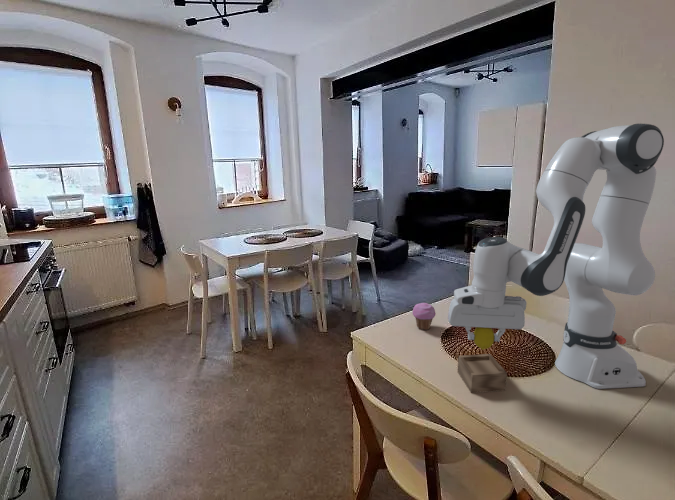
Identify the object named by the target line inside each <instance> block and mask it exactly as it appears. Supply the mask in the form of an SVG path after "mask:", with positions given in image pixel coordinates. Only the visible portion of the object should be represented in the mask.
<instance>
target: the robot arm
mask: <svg viewBox="0 0 675 500" xmlns="http://www.w3.org/2000/svg"><path fill="white" fill-rule="evenodd" d="M561 144H562V145H560V147H559V148H557V149H558V150H557V151H556V152H555V153H554V155H553V156H552V158H551V159H550V161H549V162H548V164H547V165H546V168H545V169H544V171H543V173H542V174H541V176H540V178H539V180H538V183H537V186H536V188H535V189H536V190H535V193H536V198H537V200H538V202H539V203H540V205H542V207H544V209H546V210H547V211H548V212H550V214H551V215H552V218H553V226H552V228H551V231H550V234H549V236H548V239H547V241H546V244H545V247H544V250H543V251H542V252H541V253H537V252H534V251H532V250H530V249H529V250H528V249H526V248H523V247H520V246H517V245H515V244H513V243H512V242H509V241H508V239H506V238H504V237H500V236H498V237H497V236H494V237H493V236H491V237H485V238H484V239H481V240H480V241H479V242H478V243H477V245H476V247H475V250H474V256H473V261H472V262H473V263H472V272H473V279H472V280H471V285H468V286H464V287H460V288H457V289H454V291H453V297H454V298H452V300H451V301H450V302H449V303H450V304H449V307H448V314H447V320H448V323H449V324H450V325H451V327H464V329H465V330H466V332H467V339H468V341H474V336H475V335H474V332H471V331H470V330H472V328H477V327H484V328H491V329H498V330H497V332H496V333H494V342H496V343H497V342H498V343H499V342H500V341H501V337H502V336H503V335H504V333H505V332H506V329H507V330H510V329H511V330H521V329H523V328H524V327H525V325H526V323H525V322H526V321H525V311H526V308H527V304H528V303H527V300H526V299H525V298H523V297H522V296H519V295H517V296H512V295H506V291H507V290H506V289H507V284H508V282H512V283H514V284H516V285H518V286H520V287H522V288H523V289H525V290H526V291H528V292H530V293H531V294H532V295H535V296H538V297H543V296H548V295H550V294H552V293H555V292H556V291H558V290H559V289H560V288H561V287H562V285H563V284H564V283H565V286H566V290H567V291H568V292H567V293H568V299H569V303H568V305H569V306H568V315H567V322H565V326H564V331H563V342H562V347H561V349H560V351H559V354H558V356H557V358H556V359H555V360H554V361H555V362H554V364H555V367H556V368H557V369H558V370H559V372H561V374H563V375H565V376H567V377H569V378H571V379H573V380H576V381H578V382H582V383H584V384H587V385H588V386H590V387H592V388H593V389H597V390H599V389H600V390H601V389H602V390H603V389H620V388H621V389H622V388H636V387H637V388H640V387H646V383H647V382H646V379H645V377H644V375H643V374H642V373H641V372H640V371H639V370H638V365H637V362H636V360H635V358H634V357H633V356H632V354H631V353H629V352H628V351H627V350H626V349H625V348H623V347H622V346H621V345H625V344H626V342H627V339H626V338H625V337H623V336H622V335H619V334H618V333H617V332H616V331H614V330H613V328H614V324H615V320H616V319H615V317H616V307H615V305H614V303H613V302H612V300H610V299H609V297H608V296H607V295H606V294H605V292H604V290H606V291H609V292H612V293H616V294H621V295H629V296H639V295H642V294H644V293H646V292H647V291H648V290H650V288H651V287H652V286H653V284H654V282H655V281H656V280H655V279H656V271H655V268H654V266H653V264H652V263H651V261H649V260H648V258H647V256H646V255H645V253H644V250H643V249H642V245H641V229H642V226H643V224H644V220H645V216H646V214H647V210H648V208H649V205H650V203H651V200H652V196H653V193H654V189H655V184H656V178H657V169H656V167H655V166H654V165H655V164H656V163H657V161H658V160H659V158H660V156H661V154H662V151H663V149H664V145H665V139H664V135H663V133H662V131H661V128H659V127H658V126H656V125H655V124H650V123H634V124H626V125H616V126H611V127H609V128H605V129H600V130H594V131H591V132H588V133H585V134H584V135H582V136H579V137H578V136H577V137H572V138H571V137H570V138H569V139H567V140H565V141H564V142H563V143H561ZM598 170H599V171H600V170H601V171H602V170H605V171H606V172H605V173H606V181H605V183H604V185H603V188H602V191H601V193H600V195H599V199H598V201H597V204H596V207H595V209H594V213H593V215H592V218H591V225H592V226H593V228H594V230H596V232H598V233H599V234H600V235H601V238H602V247H601V246H597V245H593V244H588V243H582V242H576V241H577V238H578V236H579V234H580V231H581V227H582V226H583V222H584V219H585V215H586V204H585V202H584V196H585V193H586V190H587V189H588V186H589V184H590V182H591V181H592V178H593V176H594V174H595V172H596V171H598ZM619 344H620V345H619Z"/></svg>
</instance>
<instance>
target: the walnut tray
mask: <svg viewBox="0 0 675 500" xmlns="http://www.w3.org/2000/svg"><path fill="white" fill-rule="evenodd" d="M457 359H458V361H457V374H458V376H459V377H460V378H461V380H462V381H463V383H464V385H465V386H466V387H467V389H468V391H469V392H470V394H473V393H487V392H488V393H489V392H490V393H491V392H502V391H503V392H504V391H506V388H507V387H506V385H507V379H508V378H507V376H508V372H507V371H506V370H505V369H504V368H503V366H502V365H501V364H500V363H499V362H498V361H497V360H496V359H495V358H494V356H492V354H491V353H483V354H468V355H467V354H466V355H458V358H457Z"/></svg>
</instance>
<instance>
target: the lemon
mask: <svg viewBox="0 0 675 500" xmlns="http://www.w3.org/2000/svg"><path fill="white" fill-rule="evenodd" d="M473 333H474V335H475V336H474V340H473V342H474V344H475V346H477V347H478V348H479V349H480V350H483V351H484V350H487V349H489V348H491V347H492V346H493V344H494V342H495V341H494V334H495V332H494V330H493V328H484V327H475V329H474V332H473Z"/></svg>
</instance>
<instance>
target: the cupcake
mask: <svg viewBox="0 0 675 500" xmlns="http://www.w3.org/2000/svg"><path fill="white" fill-rule="evenodd" d="M436 313H437V312H436V309H435V308H434V306H432V304H430V303H427V302H420V303H416V304H415V305H414V307H413V309H412V316H413V317H414V319H415V322H416V327H417V328H418V329H420V330H425V331H428V330H430V329H431V325H432V322H433V319H434V318H435V317H436Z"/></svg>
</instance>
